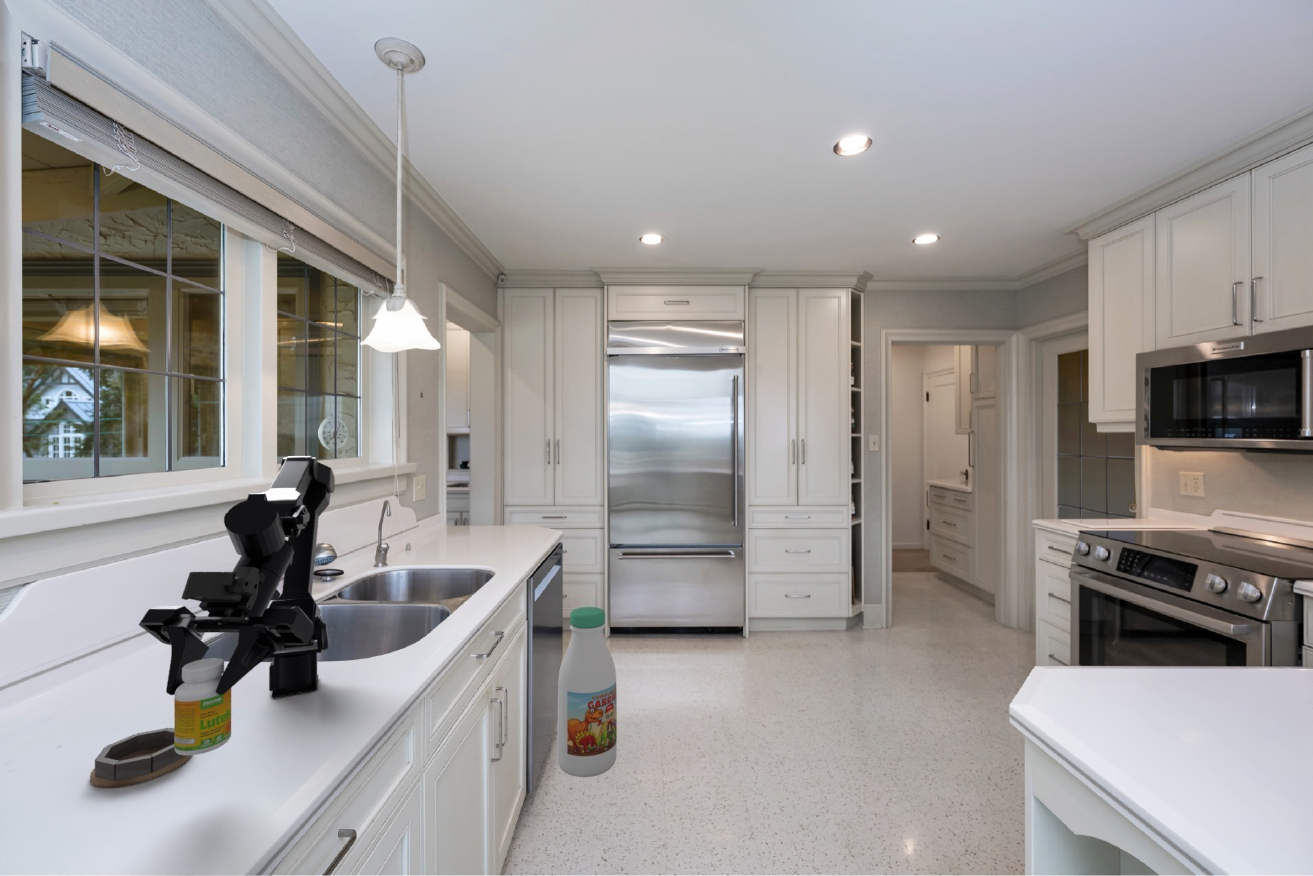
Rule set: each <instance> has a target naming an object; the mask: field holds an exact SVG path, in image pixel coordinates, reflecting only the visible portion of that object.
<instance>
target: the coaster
mask: <svg viewBox="0 0 1313 876" xmlns="http://www.w3.org/2000/svg"><path fill="white" fill-rule="evenodd" d="M174 735H175V733H174V727H165V728H159V729H154V730H149V731H143V732H138V733H136V734H135V733H134V734H131V735H130V736H126V737H125V738H121V739H120V740H118V741H115V742H113V743H111V744H108V745H106V746H105V747H103V748H102V749H101V751H100V753H99V754H98V755H97V757H96V758H94V768H93V769H92V771H91V772H90V774H89V783H90V784H91V785H93V786H94V787H97V788H103V789H112V788H114V789H115V788H123V787H124V788H125V787H128V786H134V785H137V784H142V783H145V782H147V781H151V780H154V779H157V778H159V777H162V776H165V775H167V774H169V773H171V772H172V771H175V770H177V769H178V768H180V767H182V766H183V765H184V764H186V763H187V761H189V760H190V759H191V758H192V756H193V755H179V754H177V753H176V752H175V746H174Z"/></svg>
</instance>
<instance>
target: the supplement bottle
mask: <svg viewBox="0 0 1313 876" xmlns="http://www.w3.org/2000/svg"><path fill="white" fill-rule="evenodd" d="M224 671H225V661H224V659H223V658H220V657H210V658H202V659H201V660H197V661H194V662H191V663H188V664H186V665H185V666H183V668H182V680H183V681H184V683H183V684H181V685H180V686H179V687H178V688H177V689H176V691H175V695H174V700H173V701H174V703H173V704H174V714H173V715H174V727H173V728H174V733H175V735H174V746H175V752H176V753H177V754H179V755H192V756H197V755H201V754H205V753H209V752H213V751H214V750H217V749H219V748H220V747H222V746H224V745H225V744H226V743H228V742H229V740H230V739H231V737H232V688H230V689H229V690H228V691H227V692H226V693H225V694H224V695H219V694H217V693H216V689H217V686H218V684H219V681H220V679H221V677H222V675H223V673H224Z"/></svg>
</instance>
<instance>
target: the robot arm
mask: <svg viewBox="0 0 1313 876" xmlns="http://www.w3.org/2000/svg"><path fill="white" fill-rule="evenodd" d="M335 485H336V479H335V474H334V472H333V469H332V468H331V466H329V465H326V464H323V463H322V462H319V461H318V459H317V457H313V456H312V455H307V456H306V455H293V456H292V455H291V456H290V455H289V456H286V457H283V458H282V459H281V464H280V467H279V468H278V473H277V475H276V477H275V479H274V480H273V482H272V483H271V486H270V487H269V489H268V490H267V491H263V492H260V493H259V492H258V493H248V494H247V498H246V500H243V501H240V502H239V503H237V504H235V505H234V506H232V507H231V508H230V509H229V510H228V511H227V512H226V513H225V514H224V516H223V523H224V527H225V529H226V531H227V533H228V536H229V538H230V541H231V543H232V545H233V548H234V550H235V553H236V554H237V555H238V556H239V555H240V558H239V559H238V561H237V563H236V564H235V565H234V568H233V569H232V571H189V573H188V577H187V580H186V583H185V585H184V589H183V593H182V596H181V599H182V600H185V601H186V600H187V601H188V600H194V601H197V602H200V603H199V605H198V607H199V608H200V609H201V610H202V611H204V612H206V611H207V612H208V614H207V616H204V615H203V616H202V615H201V616H197V615H196V614H194V613H193V612H192V611H191V610H189V608H188V607H186V605H157V606H152V607H150V608H149V609H148V610H147V611H146V613H145V614H144V616H143V617H142V619H141V620H140V621H139V623H138V626H139V627H141V628H142V629H143V630H144V631H146V632H147V633H148V634H150V635H151V636H152V637H154V638H155V639H156V640H158V641H159V642H160V643H162V644H164V645H168V646H171V647H170V648H171V649H170V650H171V653H170V655H171V656H170V664H169V670H168V676H167V682H166V683H167V684H166V694H168V695H170V696H175V691H176V689H177V688H178V687H179V686H180V685H181V684H183V683H184V681H183V680H182V668H183V666H185V665H186V664H188V663H191V662H194V661H197V660H201V659H204V656H206V654H207V652H208V651H209V650H210V647H209V646H208V645H207V644H205V643H204V642H203V641H202V640H203V637H204V635H205V634H206V633H212V634H213V633H219V634H220V633H221V634H222V633H224V634H225V633H229V634H230V633H235V634H237V633H238V641H237V642H238V643H237V646H236V648H235V649H234V652H233V653H232V656H231V657H230V659H229V661H228V663H227V665H226V667H225V668H224V673H223V674H222V677H221V679H220V681H219V684H218V686H217V689H216V693H217V694H219V695H224V694H225V693H226V692H227V691H228V690H229V689H230V688H231V689H232V688H233V687H234V686H235V685H236V684H237V683H239V681H240V680H242V679H243V678H244V677H245V676H246V675H247V674H249V672H251V671H252V670H254V668H255V667H257V666H258V665H260V663H262V662H263V661H264V660H267V659H272V658H273V660H272V661H271V662H270V663H269V668H268V669H269V670H268V685H269V686H268V691H269V692H271V699H272V698H273V699H275V698H280V697H287V696H292V695H297V694H303V693H309V692H313V691H317V690H318V686H319V674H318V654H320V653H323V651H325V650H327V649H329V641H330V640H329V632H328V626H327V623H325V620H324V616H323V615H322V616H321V609H320V607H319V605H318V604H317V602H316V600H315V599H314V597H313V595H312V593H313V585H314V571H315V561H316V560H315V559H316V550H317V549H316V548H317V539H318V529H319V520H320V519H319V518H320V516H321V515H322V514H323V513H324V511H325V510H326V509H327V508H328V507H329V506H330V501H331V494H333V493H334V492H335ZM286 538H288V539H286ZM282 578H283V583H282V590H281V593H280V592H279V590H278V589H277V588H278V586H279V585H280V582H281V580H282Z"/></svg>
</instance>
